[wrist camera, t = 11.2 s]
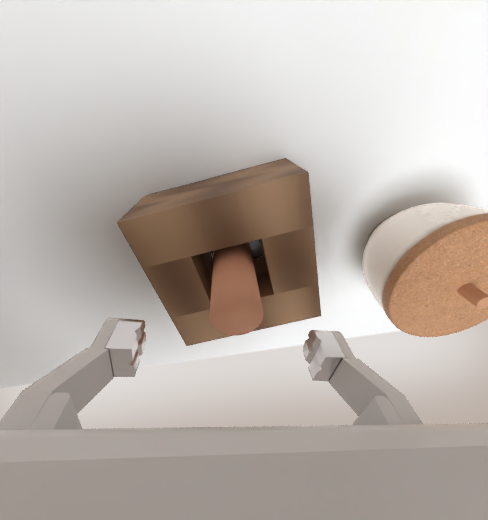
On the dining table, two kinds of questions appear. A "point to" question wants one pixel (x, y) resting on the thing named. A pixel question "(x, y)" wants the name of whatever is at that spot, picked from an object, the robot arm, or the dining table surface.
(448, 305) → the lidded jar
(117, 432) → the robot arm
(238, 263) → the peg
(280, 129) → the dining table surface
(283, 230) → the socket block
